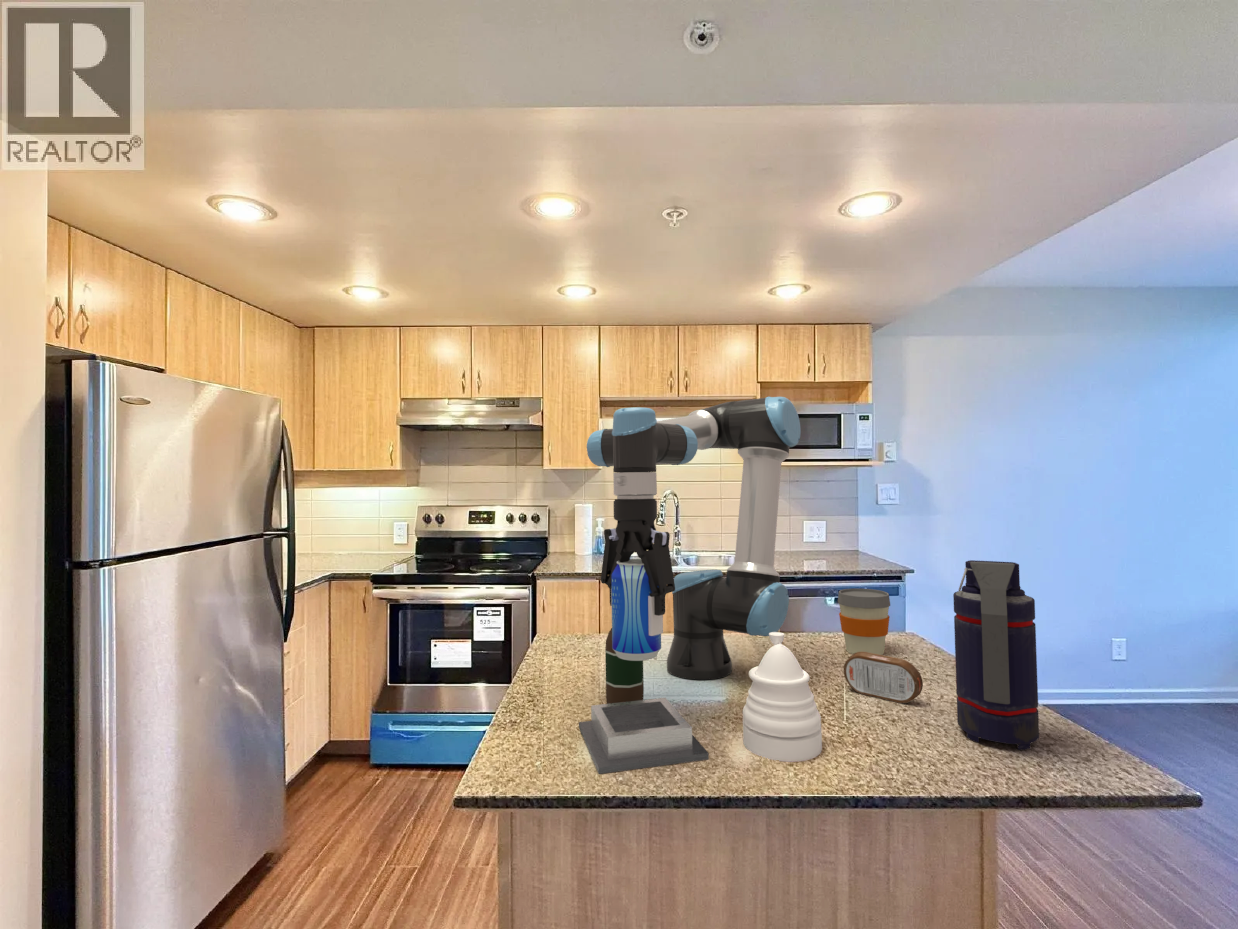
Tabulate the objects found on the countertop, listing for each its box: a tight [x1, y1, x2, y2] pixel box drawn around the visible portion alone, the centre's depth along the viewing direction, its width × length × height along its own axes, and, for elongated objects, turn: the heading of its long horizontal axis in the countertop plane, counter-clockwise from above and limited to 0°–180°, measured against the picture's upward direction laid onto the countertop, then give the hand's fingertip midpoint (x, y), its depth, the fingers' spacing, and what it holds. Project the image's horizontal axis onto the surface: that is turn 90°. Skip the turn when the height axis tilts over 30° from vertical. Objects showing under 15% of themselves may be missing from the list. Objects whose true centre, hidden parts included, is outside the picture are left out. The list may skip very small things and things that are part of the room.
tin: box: [843, 652, 924, 704], centre depth 123 cm, size 15×3×8 cm, turn 47°
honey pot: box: [742, 631, 823, 763], centre depth 102 cm, size 13×13×18 cm
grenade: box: [952, 559, 1040, 751], centre depth 103 cm, size 14×12×30 cm
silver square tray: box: [578, 697, 710, 775], centre depth 103 cm, size 18×18×4 cm
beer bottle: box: [604, 627, 645, 704], centre depth 121 cm, size 8×8×24 cm
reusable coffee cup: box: [837, 588, 891, 656], centre depth 155 cm, size 13×13×15 cm
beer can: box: [611, 558, 662, 662], centre depth 104 cm, size 8×8×16 cm
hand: (636, 629), depth 104 cm, fingers closed on beer can, 8 cm apart
